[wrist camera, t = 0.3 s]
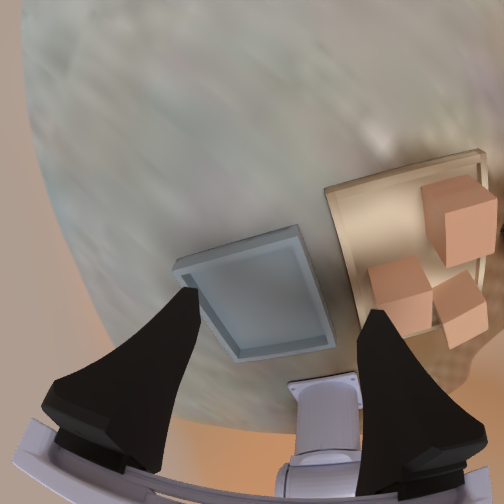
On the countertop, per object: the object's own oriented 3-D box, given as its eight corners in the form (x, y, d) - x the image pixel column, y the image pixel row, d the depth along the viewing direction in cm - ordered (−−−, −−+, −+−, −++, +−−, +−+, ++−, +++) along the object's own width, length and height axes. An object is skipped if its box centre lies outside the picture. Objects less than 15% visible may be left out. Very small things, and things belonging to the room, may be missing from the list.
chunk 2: (469, 222, 18) (494, 252, 14) (426, 235, 19) (446, 268, 16) (467, 173, 16) (497, 198, 13) (420, 186, 17) (444, 213, 14)
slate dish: (335, 333, 26) (336, 346, 25) (238, 350, 29) (235, 363, 28) (297, 224, 20) (297, 236, 19) (177, 259, 24) (170, 271, 22)
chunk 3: (472, 297, 22) (488, 328, 18) (437, 316, 23) (449, 349, 20) (467, 269, 20) (486, 301, 17) (428, 289, 22) (442, 324, 18)
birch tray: (473, 307, 23) (477, 315, 22) (364, 340, 26) (365, 348, 26) (478, 148, 15) (486, 152, 14) (324, 188, 19) (325, 194, 18)
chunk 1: (417, 292, 22) (431, 327, 19) (374, 304, 23) (382, 341, 20) (415, 255, 20) (432, 289, 17) (367, 268, 21) (377, 305, 18)
